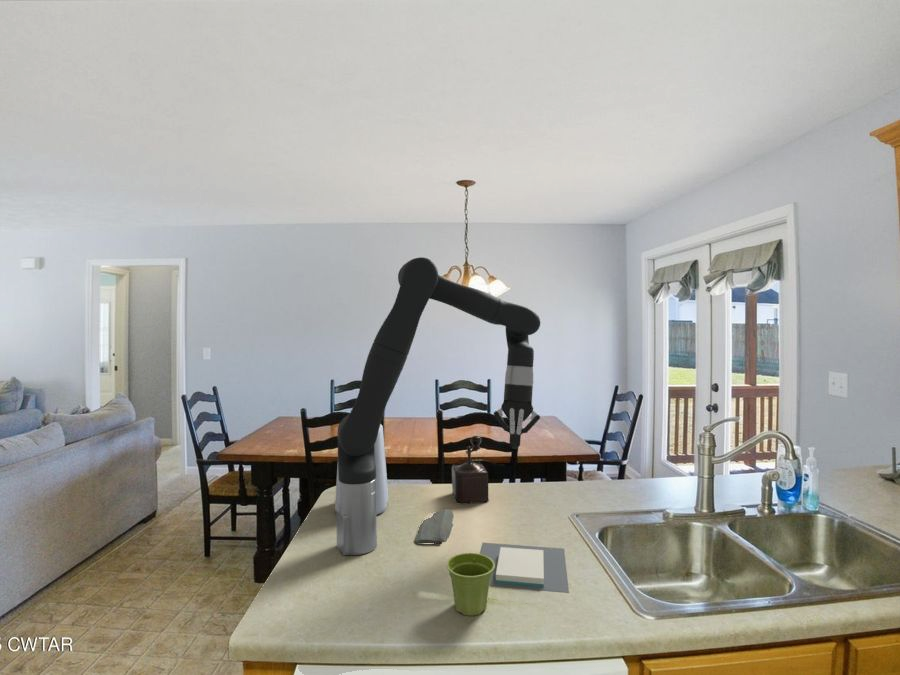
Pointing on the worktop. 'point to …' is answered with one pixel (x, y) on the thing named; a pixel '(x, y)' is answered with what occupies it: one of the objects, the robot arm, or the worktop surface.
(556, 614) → the worktop surface
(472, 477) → the brown coffee grinder
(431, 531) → the stone slab
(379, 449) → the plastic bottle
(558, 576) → the rubber mat
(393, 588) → the worktop surface
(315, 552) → the worktop surface
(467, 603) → the plant pot
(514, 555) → the glazed tile
